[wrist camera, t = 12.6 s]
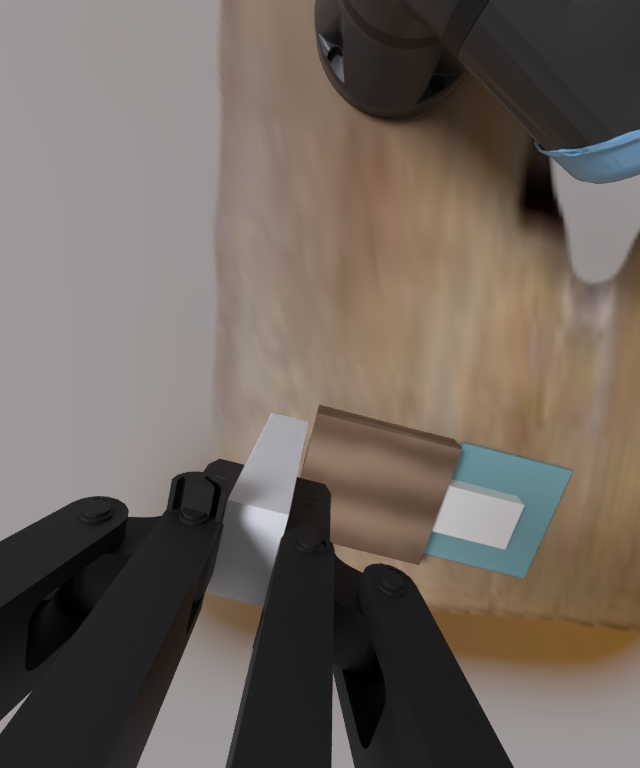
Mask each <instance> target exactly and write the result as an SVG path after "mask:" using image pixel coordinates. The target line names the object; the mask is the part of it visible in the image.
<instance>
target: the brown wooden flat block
mask: <svg viewBox="0 0 640 768" xmlns="http://www.w3.org/2000/svg"><path fill="white" fill-rule="evenodd" d="M461 451H462V450H461V448H460V447H459V446H458V444H457V443H456V441H455V440H454V439H450V438H446V437H442V436H438V435H435V434H431V433H427V432H423V431H419V430H415V429H411V428H407V427H403V426H399V425H396V424H392V423H388V422H384V421H380V420H376V419H372V418H368V417H364V416H361V415H357V414H353V413H349V412H345V411H341V410H337V409H333V408H329V407H325V406H322V405H319V408H318V411H317V415H316V419H315V423H314V426H313V430H312V434H311V438H310V441H309V445H308V449H307V453H306V456H305V460H304V464H303V468H302V471H301V475H300V478H303V479H307V480H311V481H315V482H319V483H323V484H326V486H327V488H328V489H329V491H330V493H331V512H330V513H331V519H330V541H331V542H332V543H333V544H337V545H341V546H345V547H349V548H353V549H357V550H361V551H365V552H369V553H373V554H377V555H381V556H385V557H389V558H393V559H397V560H401V561H405V562H409V563H413V564H417V565H419V564H420V561H421V558H422V555H423V553H424V550H425V547H426V545H427V542H428V539H429V537H430V534H431V531H432V529H433V526H434V523H435V521H436V518H437V515H438V513H439V510H440V507H441V504H442V502H443V499H444V496H445V494H446V491H447V488H448V486H449V483H450V480H451V478H452V475H453V472H454V470H455V467H456V464H457V462H458V459H459V456H460V453H461Z"/></svg>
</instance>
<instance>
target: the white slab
mask: <svg viewBox="0 0 640 768" xmlns="http://www.w3.org/2000/svg"><path fill="white" fill-rule="evenodd" d="M523 508H524V504H523V503H522V501H521V500H520V499H519V498H518V497H517V496H515V495H511V494H507V493H503V492H499V491H495V490H491V489H488V488H484V487H480V486H476V485H472V484H468V483H464V482H460V481H456V480H453V479H451V480H450V483H449V486H448V488H447V491H446V494H445V496H444V499H443V502H442V504H441V507H440V510H439V513H438V515H437V518H436V521H435V523H434V526H433V529H432V531H433V532H437V533H441V534H445V535H449V536H453V537H457V538H461V539H465V540H469V541H472V542H476V543H480V544H484V545H488V546H492V547H496V548H500V549H504V550H505V549H506V547H507V544H508V542H509V540H510V538H511V535H512V533H513V531H514V528H515V526H516V524H517V521H518V519H519V517H520V515H521V512H522V510H523Z"/></svg>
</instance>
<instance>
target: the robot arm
mask: <svg viewBox="0 0 640 768" xmlns="http://www.w3.org/2000/svg"><path fill="white" fill-rule="evenodd" d="M315 32H316V42H317V48H318V53H319V57H320V60H321V63H322V66H323V68H324V71H325V73H326V75H327V77H328V79H329V80H330V82H331V84H332V85H333V87H334V88H335V89H336V91H337V92H338V93H339V94H340V95H341V96H342V97H343V98H344V99H345V100H346V101H347V102H348V103H350V104H351V105H352V106H354V107H355V108H357V109H358V110H360V111H362V112H364V113H367V114H369V115H372V116H376V117H380V118H387V119H399V118H406V117H411V116H414V115H418V114H420V113H423V112H425V111H427V110H429V109H431V108H432V107H434V106H436V105H437V104H439V103H440V102H441V101H442V100H444V99H445V98H446V97H447V96H448V95H449V94H450V93H451V92H452V91H453V90H454V89H455V88H456V87H457V85H458V84H459V83H460V81H461V80H462V79H463V77H464V76H465V74H466V72H467V71H469V72H470V73H471V74H472V75H473V76H474V77H475V79H476V80H477V81H478V82H479V83H480V84H481V85H482V86H483V87H484V88H485V89H486V90H487V91H488V92H489V93H490V94H491V95H492V96H493V97H494V98H495V99H496V100H497V101H498V102H499V103H500V104H501V105H502V107H503V108H504V109H505V110H506V111H507V112H508V113H509V114H510V115H511V116H512V117H513V118H514V119H515V120H516V121H517V122H518V123H519V124H520V125H521V126H522V127H523V128H524V129H525V130H526V131H527V132H528V133H529V135H530V136H531V137H532V138H533V139H534V140H535V141H534V144H535V146H536V148H537V149H538V150H539V151H540V152H541V153H543V154H546V155H547V156H550V157H552V158H553V159H554V160H555V161H556V162H557V163H558V164H560V165H561V166H562V167H563V168H564V169H565V170H566V171H567V172H568V173H569V174H570V175H571V176H573V177H574V178H576V179H578V180H580V181H585V182H592V183H595V184H603V183H609V182H616V181H620V180H623V179H627V178H630V177H633V176H636V175H639V174H640V0H316V1H315ZM307 425H308V422H306V421H302V420H298V419H294V418H290V417H286V416H282V415H278V414H274V413H271V414H270V416H269V418H268V420H267V422H266V424H265V426H264V428H263V430H262V432H261V434H260V436H259V438H258V440H257V442H256V444H255V446H254V448H253V450H252V452H251V454H250V456H249V458H248V460H247V462H246V464H245V465H243V464H239V463H235V462H231V461H227V460H223V459H218V460H216V461H214V462H212V463H210V464H209V465H208V466H207V467H206V469H205V470H204V472H186V473H182V474H179V475H177V476H176V477H174V478H173V479H172V483H171V488H170V494H169V499H168V505H167V510H166V511H165V512H164V514H163V515H162V516H158V517H145V518H143V517H128V512H129V511H128V508H127V507H126V505H125V504H124V503H122V502H121V501H119V500H118V499H114V498H110V497H104V496H103V497H101V496H95V497H88V498H83V499H80V500H77V501H75V502H72V503H70V504H69V505H67V506H65V507H63V508H61V509H60V510H57V511H56V512H54V513H52V514H50V515H48V516H46V517H45V518H43V519H41V520H39V521H37V522H35V523H33V524H32V525H30V526H28V527H26V528H24V529H22V530H20V531H19V532H17V533H15V534H13V535H11V536H9V537H7V538H6V539H4V540H2V541H0V721H1V720H2V719H3V718H4V717H5V716H6V715H7V714H8V713H9V712H10V711H11V710H12V709H13V708H14V707H15V706H16V705H17V704H18V703H19V702H20V701H21V700H23V699H24V698H25V697H26V696H27V695H28V694H29V693H30V692H31V691H32V692H31V693H30V695H29V696H28V697H27V699H26V700H25V702H24V703H23V704H22V705H21V707H20V708H19V709H18V711H17V712H16V713H15V715H14V716H13V718H12V719H11V720H10V722H9V723H8V724H7V726H6V727H5V728H4V730H3V731H2V732H1V734H0V768H136V767H137V764H138V762H139V760H140V757H141V755H142V752H143V750H144V747H145V745H146V743H147V740H148V737H149V735H150V733H151V730H152V728H153V725H154V723H155V720H156V718H157V716H158V713H159V711H160V708H161V706H162V704H163V701H164V699H165V696H166V694H167V691H168V689H169V686H170V684H171V682H172V679H173V677H174V674H175V672H176V669H177V667H178V665H179V662H180V660H181V657H182V655H183V652H184V650H185V647H186V645H187V643H188V640H189V638H190V635H191V633H192V630H193V628H194V625H195V623H196V621H197V618H198V616H199V613H200V611H201V608H202V603H203V599H204V594H205V591H206V589H207V586H208V584H209V586H208V591H207V593H210V594H214V595H218V596H222V597H226V598H231V599H234V600H238V601H243V602H247V603H250V604H255V605H259V606H263V611H262V615H261V618H260V622H259V625H258V629H257V633H256V637H255V640H254V644H253V652H252V656H251V660H250V665H249V669H248V673H247V677H246V682H245V686H244V690H243V695H242V699H241V703H240V707H239V712H238V716H237V720H236V725H235V729H234V733H233V738H232V742H231V746H230V751H229V755H228V759H227V763H226V768H331V752H332V689H333V688H332V687H333V685H332V684H333V683H332V682H333V674H334V678H335V682H336V687H337V691H338V696H339V700H340V705H341V709H342V713H343V718H344V722H345V727H346V731H347V735H348V740H349V744H350V749H351V753H352V758H353V762H354V766H355V768H514V767H513V765H512V763H511V761H510V760H509V758H508V756H507V754H506V752H505V750H504V749H503V747H502V745H501V743H500V741H499V739H498V738H497V735H496V733H495V732H494V730H493V728H492V726H491V724H490V722H489V720H488V719H487V717H486V715H485V713H484V711H483V709H482V707H481V705H480V704H479V702H478V700H477V698H476V696H475V694H474V692H473V691H472V689H471V687H470V685H469V683H468V681H467V679H466V678H465V676H464V674H463V672H462V670H461V668H460V667H459V665H458V663H457V661H456V659H455V657H454V655H453V653H452V651H451V650H450V648H449V646H448V644H447V642H446V640H445V638H444V637H443V635H442V633H441V631H440V629H439V627H438V625H437V624H436V622H435V620H434V618H433V616H432V614H431V612H430V610H429V608H428V607H427V605H426V603H425V601H424V599H423V597H422V595H421V594H420V592H419V590H418V588H417V586H416V585H415V583H414V582H413V581H412V579H411V578H410V577H409V576H407V575H406V574H405V573H404V572H402V571H401V570H399V569H397V568H395V567H393V566H390V565H386V564H381V563H380V564H371V565H369V566H368V567H366V568H365V570H364V572H363V573H362V572H360V571H358V570H356V569H354V568H352V567H350V566H348V565H347V564H345V563H344V562H342V561H341V560H340V559H339V558H338V557H337V556H336V555H335V550H334V546H333V543H332V542H331V541H330V519H331V513H330V512H331V493H330V491H329V489H328V488H327V486H326V484H323V483H319V482H315V481H311V480H307V479H303V478H299V477H297V473H298V469H299V464H300V459H301V454H302V449H303V444H304V440H305V435H306V430H307Z"/></svg>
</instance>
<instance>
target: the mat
mask: <svg viewBox="0 0 640 768" xmlns="http://www.w3.org/2000/svg"><path fill="white" fill-rule="evenodd" d="M460 448H461V450H462V451H461V453H460V456H459V459H458V462H457V464H456V467H455V470H454V472H453V475H452V478H451V479H453V480H456V481H460V482H464V483H468V484H472V485H476V486H480V487H484V488H488V489H491V490H495V491H499V492H503V493H507V494H511V495H515V496H517V497H518V498H519V499H520V500H521V501H522V503H523V504H524V508H523V510H522V512H521V515H520V517H519V519H518V521H517V524H516V526H515V528H514V531H513V533H512V535H511V538H510V540H509V542H508V544H507V547H506V549H505V550H504V549H500V548H496V547H492V546H488V545H484V544H480V543H476V542H472V541H469V540H465V539H461V538H457V537H453V536H449V535H445V534H441V533H437V532H433V531H431V534H430V537H429V539H428V542H427V545H426V547H425V550H424V554H428V555H432V556H436V557H440V558H444V559H448V560H452V561H456V562H460V563H464V564H468V565H472V566H476V567H480V568H484V569H488V570H492V571H496V572H500V573H504V574H508V575H512V576H516V577H520V578H525V575H526V573H527V571H528V569H529V567H530V564H531V562H532V560H533V558H534V556H535V553H536V551H537V549H538V547H539V545H540V542H541V540H542V538H543V536H544V534H545V531H546V529H547V527H548V525H549V523H550V520H551V518H552V516H553V514H554V512H555V509H556V507H557V505H558V503H559V501H560V498H561V496H562V494H563V492H564V490H565V487H566V485H567V483H568V481H569V479H570V476H571V474H572V472H573V471H572V470H571V469H567V468H563V467H559V466H555V465H551V464H547V463H544V462H540V461H536V460H532V459H528V458H524V457H520V456H516V455H512V454H508V453H505V452H501V451H497V450H493V449H489V448H485V447H481V446H477V445H473V444H470V443H466V442H462V444H461V447H460Z"/></svg>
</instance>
